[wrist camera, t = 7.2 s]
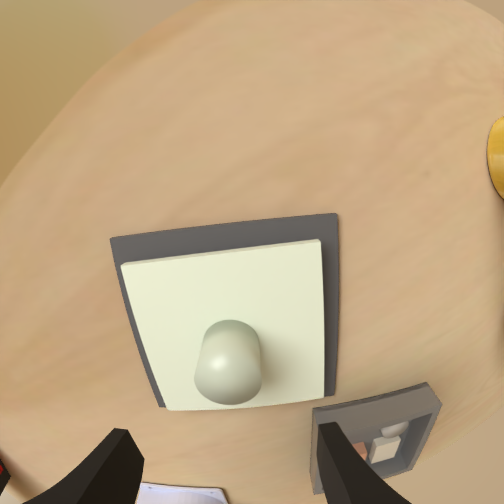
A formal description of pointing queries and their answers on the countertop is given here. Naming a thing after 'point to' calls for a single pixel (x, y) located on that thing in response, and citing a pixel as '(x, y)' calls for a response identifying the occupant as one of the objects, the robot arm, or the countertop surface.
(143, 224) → the countertop surface
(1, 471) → the cleaning product box
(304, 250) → the lid
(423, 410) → the storage box
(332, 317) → the mat
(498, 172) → the plant pot
